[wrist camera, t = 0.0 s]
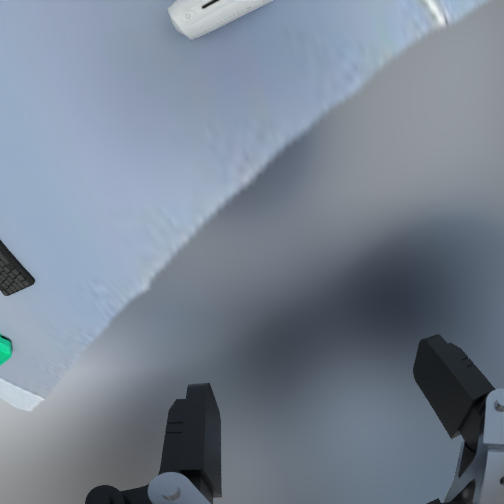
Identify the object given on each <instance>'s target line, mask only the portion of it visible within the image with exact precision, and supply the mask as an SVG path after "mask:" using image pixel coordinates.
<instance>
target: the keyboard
mask: <svg viewBox="0 0 504 504" xmlns="http://www.w3.org/2000/svg"><path fill="white" fill-rule="evenodd" d="M34 282H35V279H34V278H33V277H32V276H31V274H30V273H29V272H28V271H27V270H26V269H25V268H24V267H23V266H22V265H21V264H20V262H19V261H18V260H17V259H16V258H15V257H14V256H13V254H12V253H11V252H10V251H9V250H8V249H7V247H6V246H5V245H4V244H3V243H2V241H1V240H0V290H1V291H2V293H3V294H4V295H5V296H9V295H11V294H13V293H15V292H18V291H20V290H22V289H24V288H27V287H29V286H31V285H33V284H34Z"/></svg>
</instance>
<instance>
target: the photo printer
mask: <svg viewBox="0 0 504 504" xmlns="http://www.w3.org/2000/svg"><path fill="white" fill-rule="evenodd" d="M272 1H274V0H176V1H175V2H174V3H173V4H172V5H171V6H170V7H169V8H168V9H167V11H168V13H169V15H170V20H171V23H172V24H173V26H174V27H175V29H176V30H177V31H178V32H179V33H181V34H184V35H186V36H187V37H188V38H189V39H190V40H193V39H196V38H198V37H201V36H203V35H206V34H208V33H210V32H212V31H214V30H216V29H218V28H220V27H222V26H224V25H226V24H228V23H230V22H232V21H234V20H236V19H238V18H240V17H242V16H244V15H246V14H248V13H250V12H252V11H254V10H256V9H258V8H259V7H261V6H263V5H266V4H268V3H270V2H272Z"/></svg>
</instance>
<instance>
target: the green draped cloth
mask: <svg viewBox="0 0 504 504" xmlns="http://www.w3.org/2000/svg"><path fill="white" fill-rule="evenodd" d="M11 355H12V348H11V343H10V342H9V341H8V340H6V339H3V338H1V334H0V366H1V365H2V364H3V363H5V362H6V361H7V360H8V359H9V358H11Z"/></svg>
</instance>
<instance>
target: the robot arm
mask: <svg viewBox="0 0 504 504" xmlns="http://www.w3.org/2000/svg"><path fill="white" fill-rule="evenodd" d="M413 374H414V378H415V381H416V383H417V384H418V386H419V387H420V389H421V390H422V392H423V393H424V395H425V397H426V398H427V400H428V401H429V403H430V405H431V406H432V408H433V409H434V411H435V413H436V414H437V416H438V417H439V419H440V421H441V422H442V424H443V426H444V427H445V429H446V431H447V432H448V434H449V436H450V437H451V439H453V438H455V437H457V436H459V435H460V434H461V435H462V437H463V440H462V442H461V446H460V452H459V457H458V462H457V467H456V471H455V475H454V479H453V483H452V485H451V487H450V489H449V490H448V493H447V495H446V497H445V499H444V502H443V503H441V502H440V500H439V499H436V500H434V501H432V502H429V503H427V504H504V389H495V388H494V387H493V386H492V385H491V383H490V382H489V381H488V380H487V379H486V377H485V376H484V375H483V374H482V373H481V371H480V370H479V369H478V368H477V367H476V366H475V365H474V363H473V362H472V361H471V360H470V359H468V356H467V355H466V354H465V353H464V352H463V351H462V349H461V348H459V347H457V346H455V345H453V344H452V343H447V342H446V341H445V340H444V339H443V338H442V337H441V336H440V335H438V334H437V335H434V336H431V337H428V338H425V339H422V340H421V341H420V342H419V346H418V350H417V355H416V359H415V363H414V367H413ZM221 493H222V492H221V419H220V412H219V408H218V406H217V403H216V400H215V397H214V394H213V391H212V388H211V385H210V383H201V384H190V385H188V388H187V395H186V399H176V401H175V402H174V404H173V405H172V407H171V408H170V410H169V413H168V419H167V425H166V434H165V440H164V446H163V452H162V459H161V467H160V471H159V474H158V475H157V477H155V478H154V479H153V480H152V481H151V483H150V484H148V485H146V486H144V487H140V488H135V489H131V490H126V491H119V490H118V489H116V488H114V487H112V486H109V485H101V486H98V487H95V488H94V489H92V490H91V491H90V492H89V494H88V495H87V497H86V501H85V504H213V498H215V497H222V494H221Z"/></svg>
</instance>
